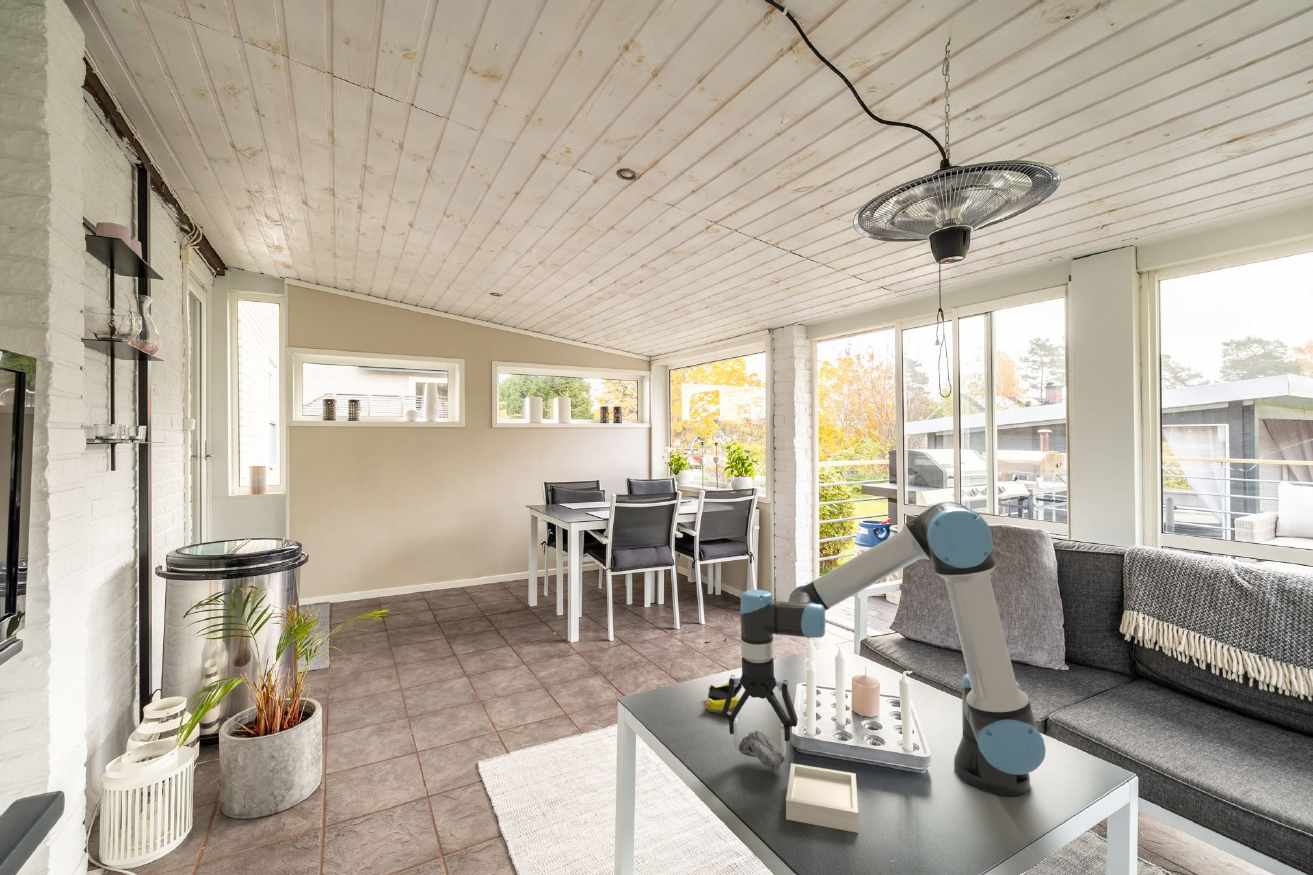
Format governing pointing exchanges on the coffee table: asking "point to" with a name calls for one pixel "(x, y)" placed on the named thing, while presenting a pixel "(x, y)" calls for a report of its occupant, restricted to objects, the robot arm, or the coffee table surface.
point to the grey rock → (762, 749)
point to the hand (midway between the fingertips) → (759, 750)
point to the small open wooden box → (822, 797)
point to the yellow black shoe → (721, 698)
